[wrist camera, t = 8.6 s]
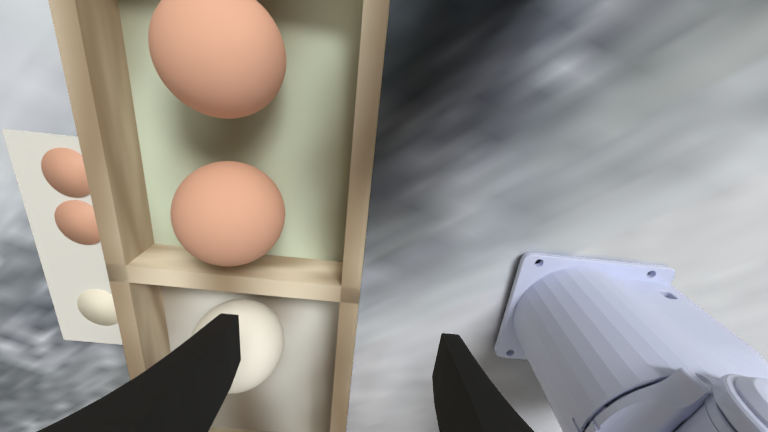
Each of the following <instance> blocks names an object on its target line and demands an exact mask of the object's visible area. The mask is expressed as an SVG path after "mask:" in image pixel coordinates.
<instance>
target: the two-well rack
mask: <svg viewBox="0 0 768 432" xmlns="http://www.w3.org/2000/svg"><path fill="white" fill-rule="evenodd" d="M160 1H161V0H49V5H50V9H51V14H52V19H53V23H54V28H55V33H56V37H57V42H58V46H59V51H60V56H61V60H62V65H63V70H64V74H65V79H66V84H67V88H68V93H69V98H70V102H71V107H72V111H73V116H74V121H75V125H76V130H77V135H78V139H79V144H80V149H81V153H82V158H83V163H84V167H85V172H86V176H87V181H88V186H89V190H90V195H91V200H92V204H93V209H94V214H95V218H96V223H97V228H98V232H99V237H100V241H101V246H102V251H103V255H104V260H105V265H106V269H107V274H108V279H109V283H110V288H111V293H112V297H113V302H114V307H115V311H116V316H117V320H118V325H119V330H120V334H121V339H122V344H123V348H124V353H125V358H126V362H127V367H128V372H129V376H130V381H131V380H132V379H134V378H135V377H137V376H138V375H140V374H141V373H143V372H144V371H146V370H147V369H148V368H150V367H151V366H153V365H154V364H156V363H157V362H158V361H160V360H161V359H163V358H164V357H165V356H167V355H168V354H169V353H171V352H172V351H173V350H175V349H176V348H177V347H179V346H180V345H181V344H182V343H184V342H185V341H186V340H188V339H189V338H190V337H191V335H192V332H193V330H194V328H195V327H196V325H197V323H198V322H199V321H200V319H201V318H202V317H203V316H204V315H205V314H206V313H207V312H208V311H210V310H211V309H212V308H214V307H216V306H217V305H219V304H221V303H224V302H227V301H230V300H235V299H250V300H255V301H258V302H260V303H262V304H264V305H266V306H268V307H269V308H270V309H271V310H272V311H273V312H274V313H275V314H276V315H277V317H278V318H279V320H280V322H281V324H282V327H283V331H284V339H285V341H284V350H283V353H282V357H281V359H280V361H279V364H278V365H277V367H276V369H275V370H274V371H273V373H272V374H271V375H270V376H269V377H268V378H267V379H266V380H265V381H264V382H262V383H261V384H260V385H258V386H256V387H254V388H253V389H250V390H248V391H245V392H241V393H234V394H227V396H226V398H225V400H224V402H223V404H222V406H221V408H220V410H219V412H218V414H217V416H216V418H215V420H214V421H213V423H212V425H211V427H210V429H209V431H208V432H346V424H347V414H348V404H349V394H350V385H351V375H352V365H353V356H354V346H355V336H356V326H357V317H358V307H359V297H360V288H361V278H362V268H363V258H364V249H365V239H366V229H367V220H368V210H369V200H370V190H371V181H372V171H373V161H374V152H375V142H376V132H377V122H378V113H379V103H380V93H381V84H382V74H383V64H384V54H385V45H386V35H387V25H388V16H389V6H390V0H256V1H258V2H259V3H260V4H261V5H262V6H263V7H264V8H265V9H266V10H267V12H268V13H269V14H270V16H271V17H272V18H273V20H274V22H275V23H276V25H277V27H278V29H279V31H280V34H281V36H282V39H283V42H284V45H285V51H286V72H285V77H284V80H283V83H282V86H281V88H280V90H279V92H278V93H277V95H276V96H275V98H274V99H273V100H272V101H271V102H270V103H269V104H268V105H267V106H266V107H264V108H263V109H261V110H260V111H258V112H256V113H254V114H252V115H249V116H246V117H241V118H233V119H225V118H217V117H212V116H208V115H205V114H202V113H200V112H198V111H196V110H194V109H192V108H190V107H189V106H187V105H185V104H184V103H183V102H181V101H180V100H179V99H178V98H177V97H176V96H174V95H173V94H172V93H171V91H170V90H169V89H168V88H167V87H166V86H165V84H164V83H163V82H162V80H161V79H160V77H159V75H158V73H157V72H156V69H155V67H154V65H153V62H152V59H151V56H150V51H149V44H148V31H149V25H150V21H151V18H152V15H153V13H154V11H155V9H156V7H157V5H158V4H159V3H160ZM220 161H236V162H241V163H245V164H248V165H251V166H253V167H256V168H257V169H259V170H261V171H262V172H264V173H265V174H266V175H267V176H268V177H269V178H271V179H272V181H273V182H274V183H275V184H276V186H277V187H278V189H279V191H280V193H281V195H282V198H283V201H284V206H285V223H284V227H283V230H282V232H281V235H280V237H279V239H278V240H277V242H276V243H275V244H274V246H273V247H272V248H271V249H270V250H269V251H268V252H267V253H266V254H264V255H263V256H261V257H260V258H258V259H256V260H254V261H252V262H250V263H247V264H244V265H239V266H218V265H213V264H209V263H206V262H204V261H201V260H199V259H198V258H196V257H194V256H193V255H192V254H190V253H189V252H188V251H187V250H186V249H185V248H184V247H183V246H182V245H181V244H180V242H179V241H178V239H177V237H176V235H175V233H174V230H173V227H172V223H171V216H170V212H171V203H172V200H173V197H174V194H175V192H176V190H177V188H178V187H179V185H180V184H181V183H182V181H183V180H184V179H185V178H186V177H187V176H188V175H189V174H191V173H192V172H193V171H195V170H196V169H198V168H200V167H202V166H205V165H207V164H210V163H214V162H220Z"/></svg>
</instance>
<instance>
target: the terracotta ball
mask: <svg viewBox="0 0 768 432" xmlns="http://www.w3.org/2000/svg"><path fill="white" fill-rule="evenodd" d="M170 216H171V223H172V227H173V230H174V233H175V235H176V237H177V239H178V241H179V242H180V244H181V245H182V246H183V247H184V248H185V249H186V250H187V251H188V252H189V253H190V254H192V255H193V256H194V257H196V258H198V259H199V260H201V261H204V262H206V263H209V264H213V265H218V266H239V265H244V264H247V263H250V262H252V261H254V260H256V259H258V258H260V257H261V256H263V255H264V254H266V253H267V252H268V251H269V250H270V249H271V248H272V247H273V246H274V244H275V243H276V242H277V240H278V239H279V237H280V235H281V232H282V230H283V227H284V223H285V206H284V201H283V198H282V195H281V193H280V191H279V189H278V187H277V186H276V184H275V183H274V182H273V181H272V179H271V178H269V177H268V176H267V175H266V174H265V173H264V172H262V171H261V170H259V169H257V168H256V167H253V166H251V165H248V164H245V163H241V162H236V161H220V162H214V163H210V164H207V165H205V166H202V167H200V168H198V169H196V170H195V171H193V172H192V173H191V174H189V175H188V176H187V177H186V178H185V179H184V180H183V181H182V183H181V184H180V185H179V187H178V188H177V190H176V192H175V194H174V197H173V200H172V203H171V212H170Z"/></svg>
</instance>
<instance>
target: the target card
mask: <svg viewBox="0 0 768 432" xmlns="http://www.w3.org/2000/svg"><path fill="white" fill-rule="evenodd" d="M2 131H3V134H4V138H5V141H6V145H7V148H8V151H9V155H10V158H11V162H12V165H13V168H14V172H15V175H16V179H17V182H18V185H19V189H20V192H21V196H22V199H23V202H24V206H25V209H26V213H27V216H28V219H29V223H30V226H31V230H32V233H33V236H34V240H35V243H36V247H37V250H38V253H39V257H40V260H41V264H42V267H43V270H44V274H45V277H46V281H47V284H48V287H49V291H50V294H51V298H52V301H53V304H54V308H55V311H56V315H57V318H58V321H59V325H60V328H61V332H62V335H63V338H64V340H74V341H86V342H98V343H109V344H121V345H123V344H122V339H121V334H120V330H119V325H118V320H117V316H116V311H115V307H114V302H113V297H112V293H111V288H110V283H109V279H108V274H107V269H106V265H105V260H104V255H103V251H102V246H101V241H100V237H99V232H98V228H97V223H96V218H95V214H94V209H93V204H92V200H91V195H90V190H89V186H88V181H87V176H86V172H85V167H84V163H83V158H82V153H81V149H80V144H79V139H78V137H76V136H67V135H58V134H49V133H39V132H30V131H21V130H12V129H5V130H2Z"/></svg>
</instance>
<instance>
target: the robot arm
mask: <svg viewBox="0 0 768 432" xmlns="http://www.w3.org/2000/svg"><path fill="white" fill-rule="evenodd" d="M538 259H541V261H540V262H539V263H537V264H535V262H536V260H538ZM650 271H651V272H650ZM648 272H650V273H649V274H647V273H648ZM674 276H675V271H674V270H673V269H672V268H670V267H668V266H662V265H652V264H642V263H632V262H623V261H613V260H603V259H593V258H583V257H573V256H563V255H553V254H544V253H534V252H528V253H525V254H524V255H523V256H522V257H521V260H520V263H519V266H518V270H517V273H516V276H515V280H514V283H513V287H512V290H511V293H510V297H509V300H508V304H507V307H506V310H505V314H504V317H503V320H502V324H501V327H500V331H499V334H498V337H497V341H496V344H495V347H494V351H495V353H496V355H497V356H498V357H501V358H512V359H524V360H528V361H529V363H530V365H531V367H532V369H533V371H534V373H535V375H536V377H537V379H538V381H539V383H540V385H541V388H542V390H543V392H544V394H545V396H546V398H547V400H548V402H549V404H550V406H551V408H552V410H553V412H554V414H555V416H556V418H557V420H558V422H559V424H560V426H561V428H562V430H563V432H768V363H767V362H766V361H765V360H764V358H763V357H762V356H761V355H760V354H759V353H758V352H757V351H756V350H755V349H753V348H752V347H751V346H750V345H748V344H747V343H746V342H744V341H743V340H742V339H741V338H739V337H738V336H737V335H735V334H734V333H733V332H731V331H730V330H729V329H727V328H726V327H725V326H724V325H722V324H721V323H720V322H718V321H717V320H716V319H714V318H713V317H712V316H711V315H709V314H708V313H707V312H705V311H704V310H703V309H701V308H700V307H699V306H697V305H696V304H695V303H694V302H692V301H691V300H690V299H688V298H687V297H686V296H684V295H683V294H682V293H680V292H679V291H678V290H677V289H675V288H674V287H673V286H671V285H670V284H671V282H672V280H673V278H674ZM509 350H511V351H510V352H507V351H509ZM240 361H241V352H240V333H239V315H235V314H224V313H221V314H219V315H218V316H217V317H215V318H214V319H213V320H212V321H210V322H209V323H208V324H207V325H205V326H204V327H203V328H202V329H200V330H199V331H198V332H197V333H195V334H194V335H193V336H191V337H190V338H189V339H188V340H186V341H185V342H184V343H182V344H181V345H180V346H179V347H177V348H176V349H175V350H173V351H172V352H171V353H169V354H168V355H167V356H165V357H164V358H163V359H161V360H160V361H158V362H157V363H156V364H154V365H153V366H151V367H150V368H148V369H147V370H146V371H144V372H143V373H141V374H140V375H138V376H137V377H135V378H134V379H132V380H131V381H129V382H127V383H126V384H124V385H123V386H121V387H119V388H118V389H116V390H114V391H113V392H111V393H109V394H108V395H106V396H104V397H103V398H101V399H99V400H97V401H95V402H94V403H92V404H90V405H88V406H86V407H84V408H82V409H81V410H79V411H77V412H75V413H73V414H71V415H69V416H68V417H66V418H64V419H62V420H60V421H58V422H56V423H54V424H52V425H50V426H48V427H46V428H44V429H42V430H40V431H37V432H208V431H209V429H210V427H211V425H212V423H213V421H214V420H215V418H216V416H217V414H218V412H219V410H220V408H221V406H222V404H223V402H224V400H225V398H226V396H227V394H228V392H229V390H230V388H231V385H232V383H233V380H234V378H235V375H236V372H237V369H238V367H239V364H240ZM432 378H433V392H434V403H435V409H436V415H437V420H438V425H439V430H440V432H534V431H533V430H532V429H531V428H530V427H529V425H528V424H527V423H526V422H525V421H524V420H523V419H522V418H521V417H520V416H519V415H518V414H517V413H516V411H515V410H514V409H513V408H512V407H511V406H510V404H509V403H508V402H507V401H506V400H505V398H504V397H503V396H502V395H501V393H500V392H499V391H498V390H497V388H496V387H495V386H494V384H493V383H492V382H491V380H490V379H489V378H488V376H487V375H486V374H485V372H484V371H483V370H482V368H481V367H480V365H479V364H478V362H477V361H476V360H475V358H474V357H473V355H472V354H471V352H470V351H469V349H468V348H467V346H466V345H465V343H464V342H463V340H462V339H461V337H460V336H459V335H456V334H445V333H442V334H441V339H440V344H439V348H438V353H437V357H436V362H435V366H434V371H433V376H432Z"/></svg>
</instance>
